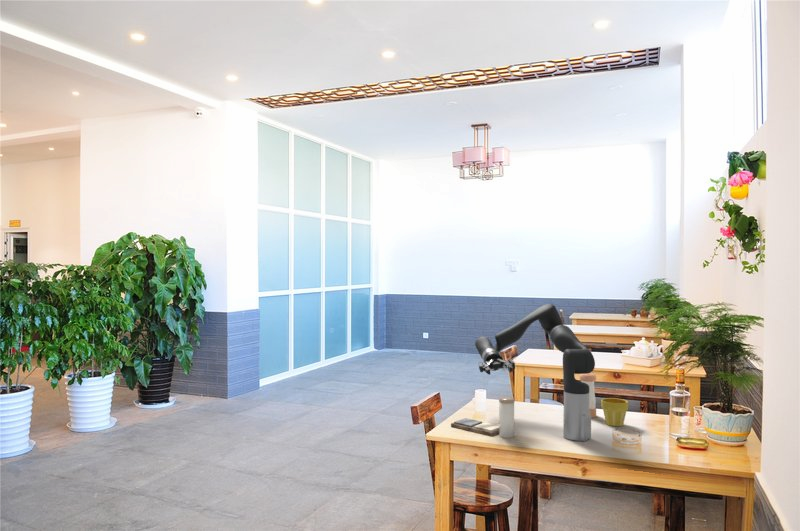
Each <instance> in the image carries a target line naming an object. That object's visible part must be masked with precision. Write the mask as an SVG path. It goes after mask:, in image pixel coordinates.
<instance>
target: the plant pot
mask: <svg viewBox="0 0 800 531" xmlns="http://www.w3.org/2000/svg"><path fill="white" fill-rule="evenodd" d="M600 401H601V402H600V403H601V404H600V405H601V407H600V408H601V409H602V411H603V415H604V419H605V424H606V425H607V426H611V427H623V426H624V424H625V418H626V414H627V411H628V410H629V400H626V399H623V398H617V397H616V398H615V397H606V398H605V397H604V398H602V399H601V400H600Z"/></svg>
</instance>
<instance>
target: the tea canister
mask: <svg viewBox="0 0 800 531" xmlns="http://www.w3.org/2000/svg"><path fill="white" fill-rule="evenodd" d="M515 401H516V400H515V398H513V397H508V396H502V397H499V398H498V403H499V404H498V405H499V406H498V409H499V410H498V416H499V417H498V422H499V423H498V425H499V433H498V436H499V437H501V438H504V439H512V438H514V437H515Z"/></svg>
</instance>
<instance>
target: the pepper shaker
mask: <svg viewBox="0 0 800 531" xmlns="http://www.w3.org/2000/svg"><path fill="white" fill-rule="evenodd" d="M578 376H579V377H578V378H579V381H580V382H583V383H586V384H588V385H589V412H591V419H592V418H597V407H596V402H597V400H596V394H595V381H597V376H596V375H595V374H594V373H593V372H591V373H587V374H579V375H578Z"/></svg>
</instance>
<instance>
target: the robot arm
mask: <svg viewBox="0 0 800 531" xmlns="http://www.w3.org/2000/svg"><path fill="white" fill-rule="evenodd" d="M536 321H538V322H539V324H540V325H541V327H542V329H543V330H544V331H545V332H546V333H547V334H548V335H549V337H550V341H551V342H552V344H553V346H554V347H555V349H557V350H558V351H559V352H561V353H563V354H562V371H563V372H562V375H563V376H562V377H563V378H562V379H563V380H562V382H563V383H562V384H563V423H562V424H563V426H562V427H563V430H562V431H563V433H562V434H563V438H565V439H567V440H571V441H581V442H585V441H587V440H589V439H591V438H592V418H591V412H589V385H588V384H586V383H583V382H581V380H578V379H576V377H575V375H576V374H577V375H580V374H587V373H593V371H594V370H595V368H596V360H595V357H594V355H593V353H592V351H591V350H590V349H589V348H588V347H586V345H584V344H583V343H582V342H581V341H580V339H579V338H578V337H577V336H576V335H575V333H574V331H573V330H572V329H571V328H570V327H569V326H567V325H564V323H563V320H562V317H561V315H560V313H559V311H558V308H556V306H555V304H553V303H546V304H544V305H541V306H539V307H537V309H535V310H533V311H532V312H531V313H529V314H528V315H526V316H524V317H523V318H522V319H521V320H519V321H517V322H516V323H515V324H513V325H511V326H509V327H507V328H505V329H503V330H502V331H499V332H498V333H496V334H495V335H494V338H495V343H496V344H495V345H493V344H492V342H491V339H490V338H489V337H487V336H480V337H478V338H477V339H476V340H475V344H474V346H475V348H476V350H477V352H478V354H479V356H480V358H481V359H482V361H483V362H481V361H479V362H478V370H479V372H480V373H484V372H485V373H486V374H487V375H491V371H493V372H494V371H499V370H503V371H506V370H507V371H508V372H509V373H512V372H513V370H515V369H516V363H515V362H516V361H514V360H513V359H512V358H508V359H507V360H505V359H503V356H502V355H501V354H500V352H501V351H502V350H504V349H505V348H507V347H509V346H510V345H513V344H515V343H517V342H518V341H519V340H520V339H521V338H523V336H524V334H525V333H526V332H527V330H528V328H529V327H530V326H531V325H532V324H533V323H535V322H536Z"/></svg>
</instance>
